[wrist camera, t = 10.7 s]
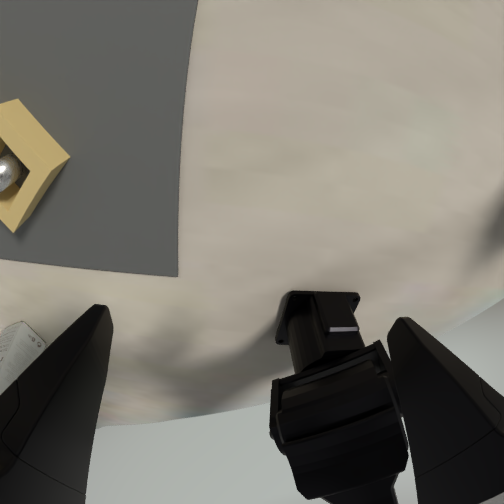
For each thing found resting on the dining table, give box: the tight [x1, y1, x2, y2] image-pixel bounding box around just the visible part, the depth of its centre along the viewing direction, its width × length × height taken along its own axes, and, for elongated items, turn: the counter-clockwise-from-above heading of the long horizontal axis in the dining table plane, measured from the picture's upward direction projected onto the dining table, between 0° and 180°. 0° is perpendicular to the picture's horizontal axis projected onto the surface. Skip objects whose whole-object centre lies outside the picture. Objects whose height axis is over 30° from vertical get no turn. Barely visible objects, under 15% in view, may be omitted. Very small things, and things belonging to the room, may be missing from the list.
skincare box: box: [0, 322, 46, 395], centre depth 21 cm, size 6×4×12 cm
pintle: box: [0, 152, 29, 193], centre depth 14 cm, size 2×2×3 cm
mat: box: [0, 0, 198, 277], centre depth 14 cm, size 24×25×1 cm
